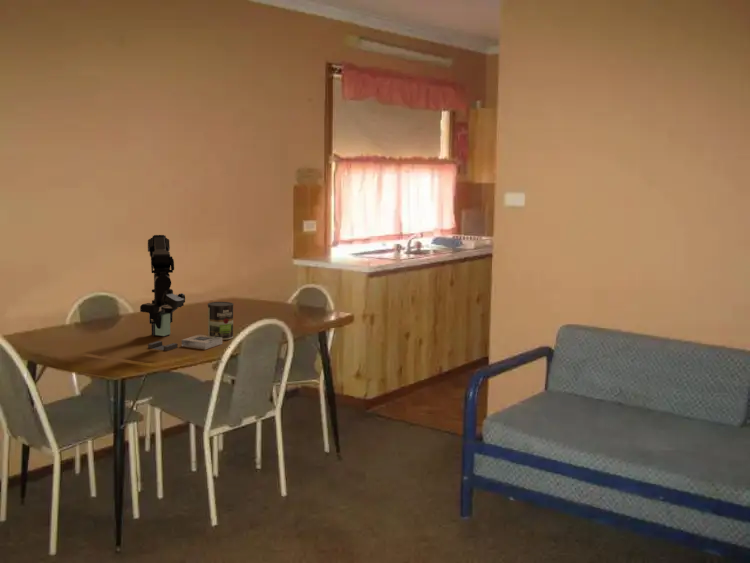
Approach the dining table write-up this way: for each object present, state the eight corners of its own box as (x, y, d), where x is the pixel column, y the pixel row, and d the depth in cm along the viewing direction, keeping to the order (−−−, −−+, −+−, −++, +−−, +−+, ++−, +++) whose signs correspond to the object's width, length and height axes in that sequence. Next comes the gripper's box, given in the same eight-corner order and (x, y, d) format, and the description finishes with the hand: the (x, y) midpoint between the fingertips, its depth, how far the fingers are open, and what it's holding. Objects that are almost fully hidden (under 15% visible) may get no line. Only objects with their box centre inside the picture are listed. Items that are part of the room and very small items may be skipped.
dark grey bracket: (148, 350, 308) (148, 344, 308) (158, 347, 314) (158, 341, 313) (167, 353, 305) (167, 346, 304) (177, 350, 310) (177, 343, 310)
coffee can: (237, 338, 332) (237, 304, 330) (214, 341, 326) (214, 306, 324) (226, 333, 340) (226, 300, 338) (203, 336, 334) (203, 302, 332)
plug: (155, 334, 307) (154, 310, 306) (162, 332, 311) (161, 308, 309) (163, 336, 305) (163, 311, 304) (170, 334, 309) (170, 309, 308)
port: (181, 348, 312) (181, 339, 312) (199, 343, 322) (199, 334, 322) (205, 352, 308) (205, 343, 307) (222, 346, 318) (222, 337, 317)
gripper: (163, 292, 294) (163, 334, 296) (194, 285, 310) (195, 325, 313) (138, 289, 298) (139, 331, 300) (171, 282, 315) (171, 322, 317)
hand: (162, 327), depth 308 cm, fingers closed on plug, 4 cm apart
